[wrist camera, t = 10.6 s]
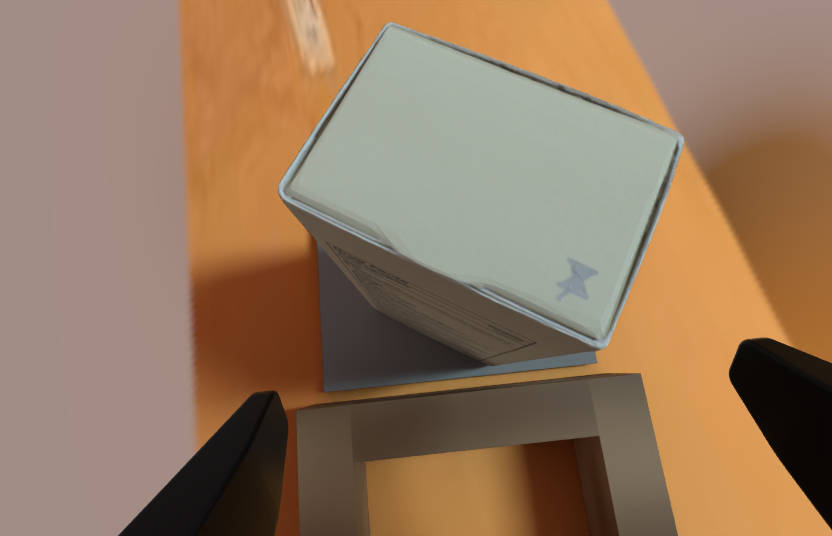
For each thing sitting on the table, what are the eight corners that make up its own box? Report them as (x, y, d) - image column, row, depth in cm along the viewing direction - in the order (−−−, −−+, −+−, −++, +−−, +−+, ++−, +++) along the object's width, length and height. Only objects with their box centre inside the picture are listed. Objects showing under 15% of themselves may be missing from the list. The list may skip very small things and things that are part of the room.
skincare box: (530, 283, 19) (714, 136, 7) (491, 370, 18) (629, 367, 6) (406, 224, 20) (385, 2, 8) (362, 305, 19) (264, 191, 7)
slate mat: (592, 363, 19) (597, 363, 18) (326, 391, 18) (324, 392, 18) (559, 199, 21) (562, 195, 20) (318, 223, 20) (315, 219, 20)
